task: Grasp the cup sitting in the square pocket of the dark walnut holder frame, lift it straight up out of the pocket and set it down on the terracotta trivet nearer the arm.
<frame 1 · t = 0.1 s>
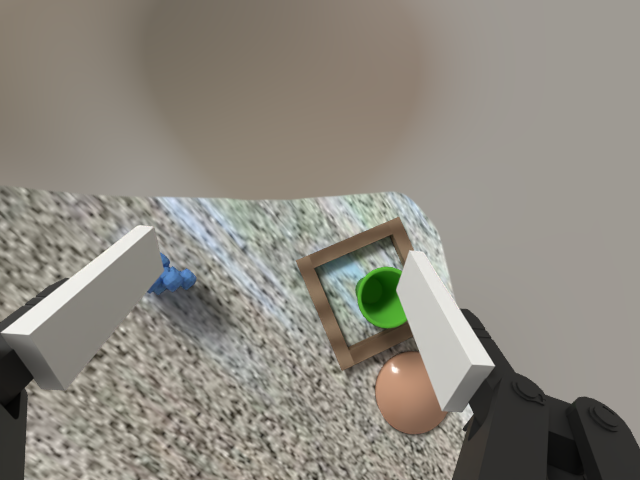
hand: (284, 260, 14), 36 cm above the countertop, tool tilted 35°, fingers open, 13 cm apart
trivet: (411, 390, 49), on the countertop
cup: (368, 289, 50), resting in holder frame
holder frame: (368, 290, 50), on the countertop
grapes: (177, 272, 48), on the countertop
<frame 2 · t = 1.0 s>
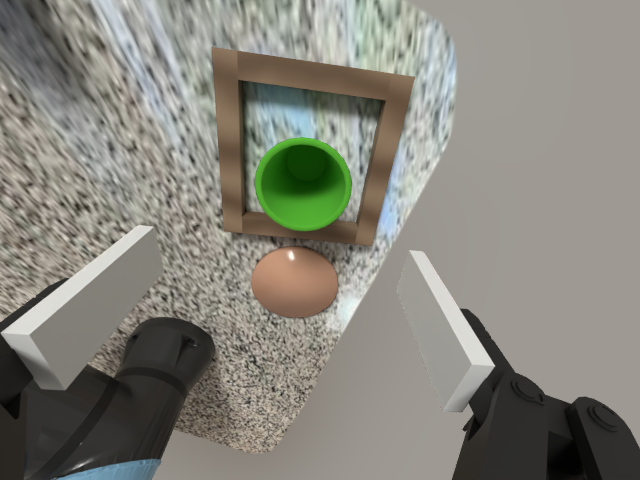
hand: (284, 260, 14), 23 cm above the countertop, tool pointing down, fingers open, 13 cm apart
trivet: (295, 281, 44), on the countertop
cup: (306, 160, 34), resting in holder frame
holder frame: (306, 160, 34), on the countertop
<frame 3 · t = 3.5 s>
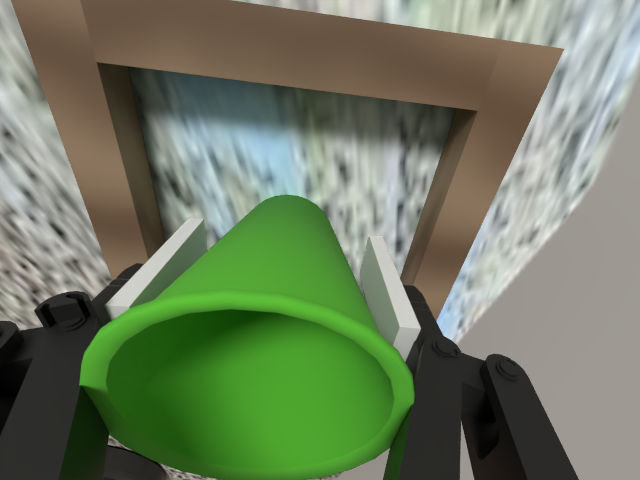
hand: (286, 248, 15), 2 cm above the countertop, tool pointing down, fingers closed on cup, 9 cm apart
cup: (290, 229, 17), resting in holder frame, touching gripper
holder frame: (289, 231, 17), on the countertop
when the fingers open (5 cm above the countertop, at t = 10.6 s): cup drops 1 cm, resting on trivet.
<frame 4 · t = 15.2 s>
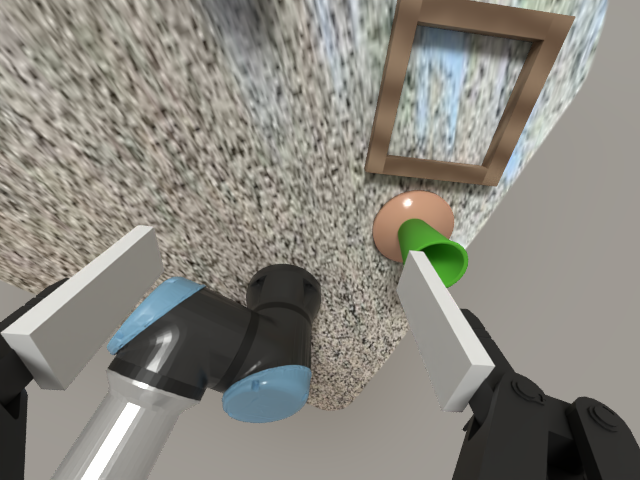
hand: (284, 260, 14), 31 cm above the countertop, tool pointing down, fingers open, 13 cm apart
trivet: (411, 227, 48), on the countertop
cup: (411, 230, 47), point 1 cm above the countertop, touching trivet
holder frame: (451, 103, 38), on the countertop
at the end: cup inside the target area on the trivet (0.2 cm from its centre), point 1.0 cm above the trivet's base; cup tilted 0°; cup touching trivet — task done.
